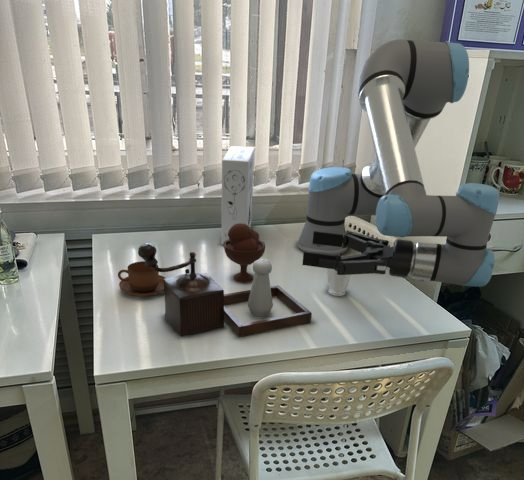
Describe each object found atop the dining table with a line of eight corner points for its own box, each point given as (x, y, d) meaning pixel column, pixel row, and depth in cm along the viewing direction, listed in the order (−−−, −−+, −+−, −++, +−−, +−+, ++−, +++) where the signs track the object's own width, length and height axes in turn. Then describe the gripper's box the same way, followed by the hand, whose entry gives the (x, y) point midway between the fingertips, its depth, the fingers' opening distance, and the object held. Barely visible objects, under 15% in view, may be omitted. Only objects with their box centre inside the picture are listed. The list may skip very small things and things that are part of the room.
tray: (277, 294, 130) (278, 285, 128) (310, 322, 118) (311, 312, 116) (210, 305, 122) (210, 296, 121) (238, 337, 110) (239, 326, 109)
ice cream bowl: (259, 289, 132) (262, 231, 124) (217, 283, 133) (217, 227, 126) (267, 273, 141) (270, 219, 133) (228, 268, 142) (228, 214, 135)
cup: (329, 299, 128) (333, 269, 124) (314, 283, 137) (317, 254, 132) (355, 297, 130) (359, 267, 126) (338, 281, 138) (342, 252, 134)
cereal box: (245, 246, 158) (248, 161, 145) (221, 244, 158) (221, 159, 145) (251, 224, 176) (254, 147, 163) (229, 223, 177) (230, 145, 164)
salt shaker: (253, 321, 117) (255, 267, 110) (243, 310, 121) (245, 258, 114) (276, 317, 119) (279, 264, 112) (266, 306, 123) (269, 255, 117)
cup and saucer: (124, 303, 121) (121, 279, 118) (116, 283, 131) (114, 260, 128) (174, 297, 125) (173, 273, 122) (163, 278, 135) (162, 255, 132)
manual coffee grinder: (206, 307, 122) (205, 233, 112) (225, 328, 113) (226, 250, 104) (141, 319, 115) (134, 241, 106) (156, 342, 107) (150, 260, 98)
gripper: (407, 301, 97) (296, 286, 101) (407, 256, 118) (315, 245, 122) (415, 263, 93) (299, 249, 97) (413, 224, 114) (318, 213, 118)
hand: (308, 247), depth 109 cm, fingers open, 13 cm apart
